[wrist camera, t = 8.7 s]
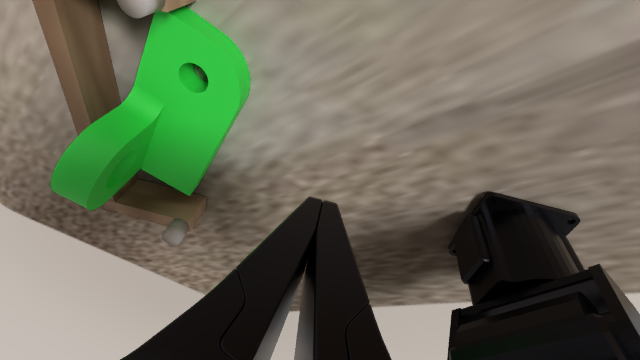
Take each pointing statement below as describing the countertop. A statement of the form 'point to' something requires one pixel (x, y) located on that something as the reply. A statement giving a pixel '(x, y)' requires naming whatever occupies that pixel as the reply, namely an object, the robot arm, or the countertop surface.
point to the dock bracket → (110, 100)
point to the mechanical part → (161, 114)
